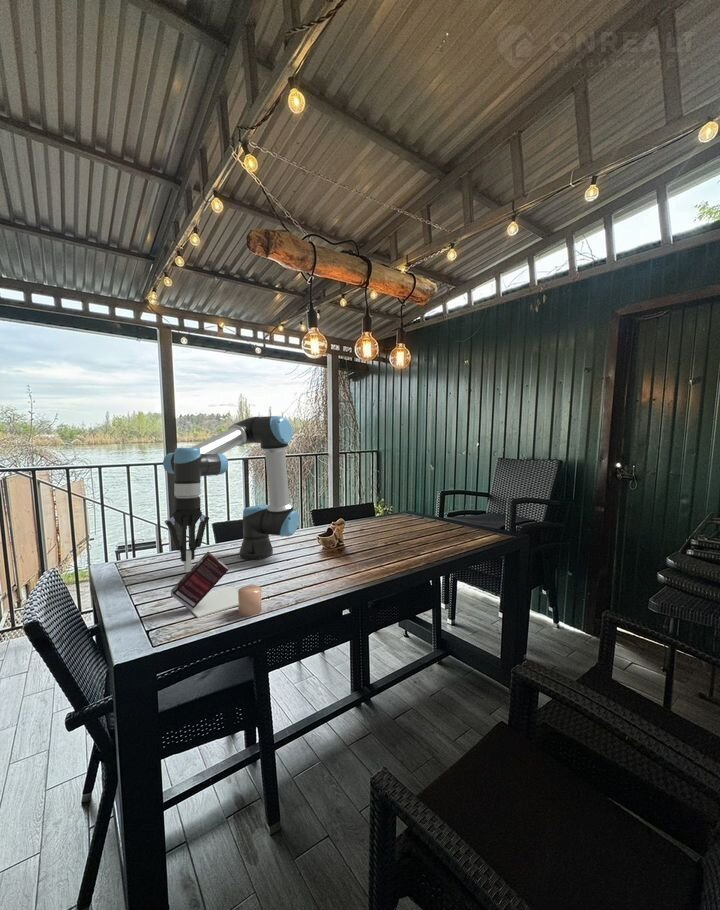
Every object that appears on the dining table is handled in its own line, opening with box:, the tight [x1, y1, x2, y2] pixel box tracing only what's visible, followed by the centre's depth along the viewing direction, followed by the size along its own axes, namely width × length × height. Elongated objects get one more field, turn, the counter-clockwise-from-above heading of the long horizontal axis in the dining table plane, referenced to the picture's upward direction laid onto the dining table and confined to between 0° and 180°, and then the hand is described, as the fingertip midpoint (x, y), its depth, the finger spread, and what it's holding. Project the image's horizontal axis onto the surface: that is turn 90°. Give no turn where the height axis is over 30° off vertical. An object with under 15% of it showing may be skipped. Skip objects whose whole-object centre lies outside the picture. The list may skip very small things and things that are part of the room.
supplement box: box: [170, 550, 229, 611], centre depth 118 cm, size 9×5×16 cm
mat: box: [190, 585, 238, 619], centre depth 124 cm, size 17×16×1 cm
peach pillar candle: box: [237, 584, 262, 617], centre depth 117 cm, size 7×7×7 cm
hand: (187, 570), depth 117 cm, fingers closed
